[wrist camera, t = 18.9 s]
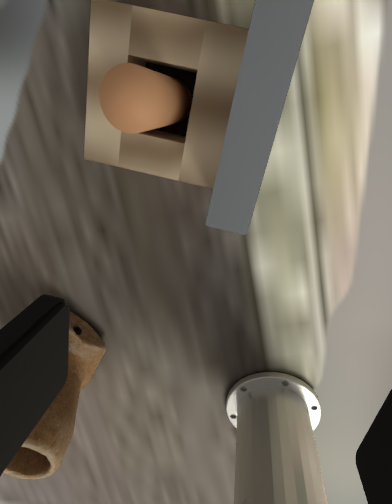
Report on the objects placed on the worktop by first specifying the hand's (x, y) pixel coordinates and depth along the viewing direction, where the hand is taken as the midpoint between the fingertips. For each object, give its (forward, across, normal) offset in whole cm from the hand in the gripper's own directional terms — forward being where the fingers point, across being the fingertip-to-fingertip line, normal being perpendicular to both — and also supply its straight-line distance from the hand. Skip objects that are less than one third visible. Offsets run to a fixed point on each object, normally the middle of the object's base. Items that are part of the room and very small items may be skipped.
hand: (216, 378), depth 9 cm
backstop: (+26, +1, -7) cm, 27 cm away
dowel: (+26, +8, -7) cm, 28 cm away
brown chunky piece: (+28, +18, +28) cm, 43 cm away
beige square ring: (+26, +8, -7) cm, 28 cm away
